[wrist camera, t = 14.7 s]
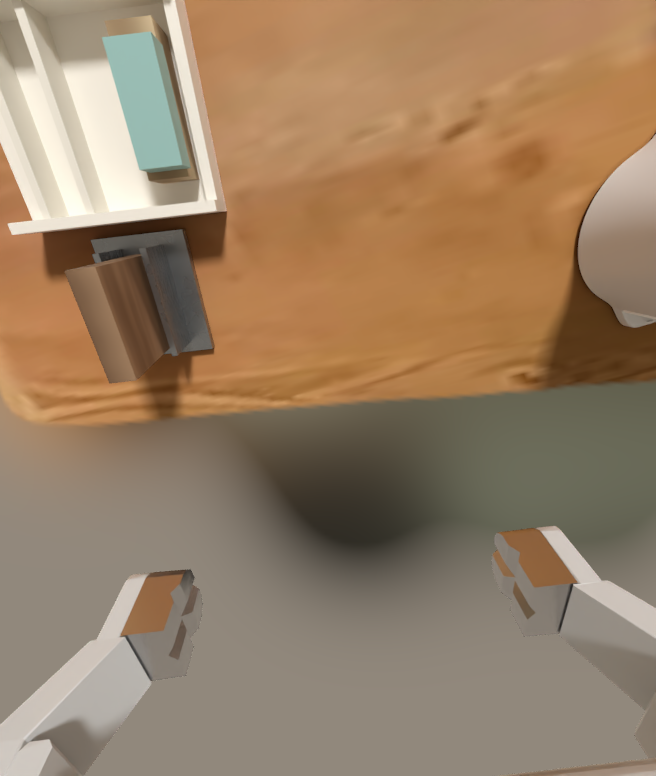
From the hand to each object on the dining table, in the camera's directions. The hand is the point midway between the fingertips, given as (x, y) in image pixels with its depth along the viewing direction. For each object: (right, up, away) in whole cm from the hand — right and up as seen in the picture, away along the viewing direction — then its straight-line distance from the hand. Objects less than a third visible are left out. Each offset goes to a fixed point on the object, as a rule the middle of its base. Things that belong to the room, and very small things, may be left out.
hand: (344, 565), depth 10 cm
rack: (-18, +26, +19) cm, 37 cm away
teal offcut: (-12, +24, +16) cm, 31 cm away
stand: (-17, +14, +25) cm, 33 cm away
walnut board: (-16, +13, +24) cm, 32 cm away
